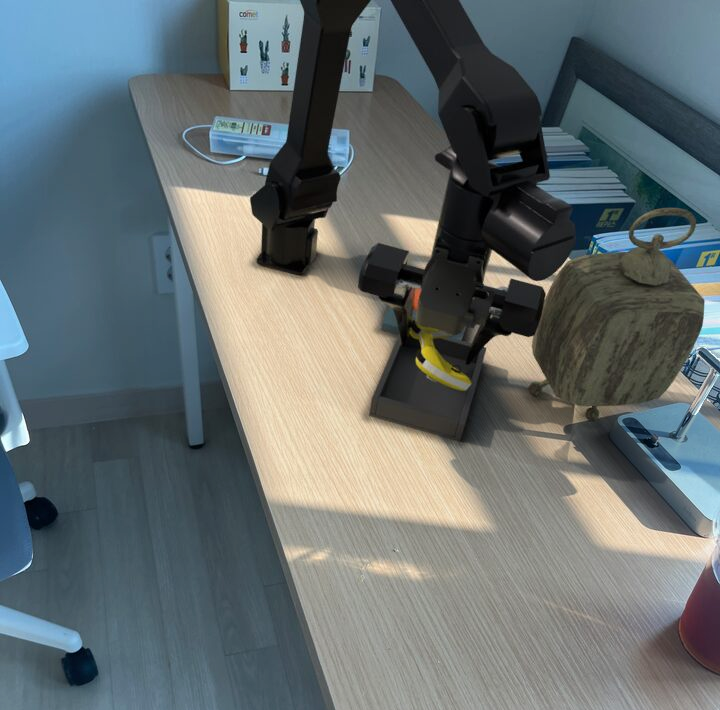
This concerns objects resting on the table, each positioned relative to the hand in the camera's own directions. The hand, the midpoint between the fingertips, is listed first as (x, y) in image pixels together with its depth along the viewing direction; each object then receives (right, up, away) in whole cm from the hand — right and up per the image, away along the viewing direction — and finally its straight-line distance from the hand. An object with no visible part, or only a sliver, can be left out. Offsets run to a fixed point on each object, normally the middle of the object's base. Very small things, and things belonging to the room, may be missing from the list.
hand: (435, 353), depth 84 cm
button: (0, +8, +10) cm, 13 cm away
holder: (-1, -4, +4) cm, 5 cm away
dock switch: (0, +6, +12) cm, 14 cm away
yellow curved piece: (0, -1, +1) cm, 1 cm away
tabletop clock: (+18, -6, +5) cm, 19 cm away
